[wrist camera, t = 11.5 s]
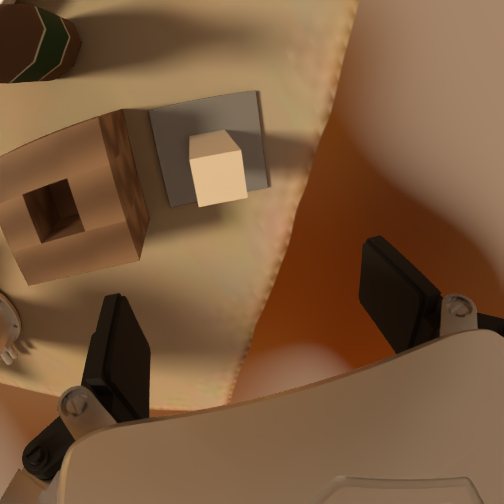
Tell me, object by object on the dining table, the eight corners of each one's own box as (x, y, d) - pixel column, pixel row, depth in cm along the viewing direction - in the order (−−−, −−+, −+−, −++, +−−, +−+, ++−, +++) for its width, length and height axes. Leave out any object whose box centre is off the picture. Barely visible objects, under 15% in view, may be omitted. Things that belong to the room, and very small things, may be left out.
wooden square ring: (149, 218, 37) (139, 260, 29) (56, 242, 36) (28, 285, 28) (122, 108, 30) (98, 117, 22) (22, 145, 29) (-20, 167, 20)
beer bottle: (27, 31, 22) (-116, 17, 1) (84, 13, 23) (-39, -50, 3) (28, 89, 26) (-123, 126, 5) (84, 72, 27) (-57, 75, 6)
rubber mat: (266, 186, 38) (267, 187, 38) (170, 205, 37) (170, 207, 37) (254, 90, 32) (255, 90, 32) (149, 110, 31) (148, 110, 30)
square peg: (229, 162, 35) (247, 197, 25) (195, 169, 35) (198, 207, 25) (224, 129, 33) (241, 150, 23) (189, 136, 33) (189, 159, 23)
